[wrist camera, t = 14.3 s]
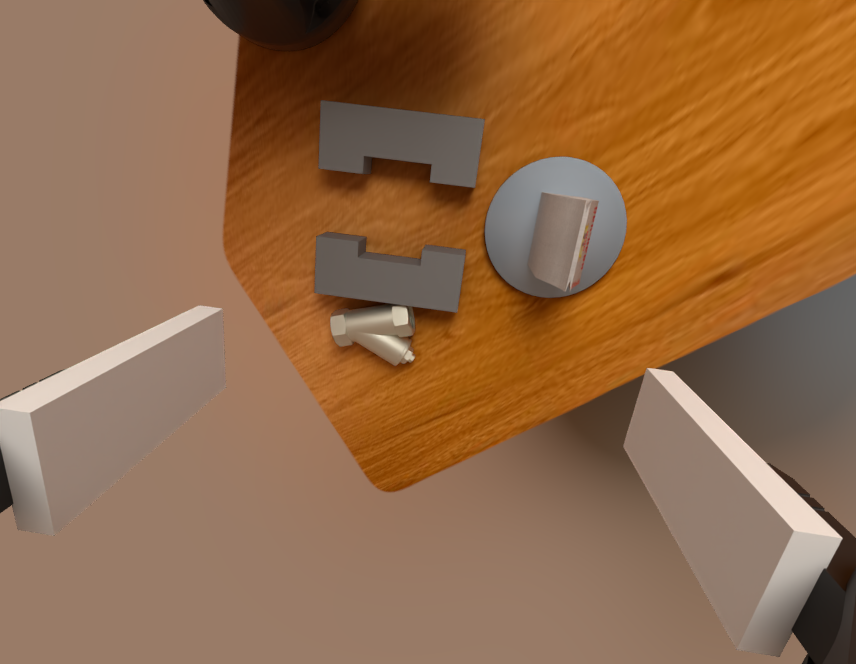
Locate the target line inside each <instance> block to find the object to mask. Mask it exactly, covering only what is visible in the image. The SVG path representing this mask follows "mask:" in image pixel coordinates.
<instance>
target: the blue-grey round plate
mask: <svg viewBox="0 0 856 664" xmlns="http://www.w3.org/2000/svg"><path fill="white" fill-rule="evenodd" d="M542 192H545V193H553V194H561V195H568V196H576V197H583V198H588V199H593V200H597V201H599V203H598V207H597V211H596V215H595V220H594V224H593V228H592V232H591V236H590V241H589V245H588V249H587V253H586V257H585V261H584V266H583V270H582V274H581V278H580V282H579V284H578V285H576V286H574V287H573V288H572V289H571V290H570V289H569V286H568V287H567V289H566V291H563V290H561V289H560V288H558V287H556V286H554V285H551V284H549V283H547V282H545V281H542V280H540V279H538V278H536V277H535V276H534V274H533V273H532V271H531V269H530V268H529V266H528V259H529V254H530V249H531V244H532V239H533V234H534V229H535V224H536V219H537V214H538V208H539V203H540V198H541V193H542ZM626 224H627V219H626V210H625V205H624V201H623V199H622V196H621V194H620V192H619V190H618V188H617V186H616V185H615V184H614V182H613V181H612V180H611V178H610V177H609V176H608V175H607V174H606V173H605V172H603V171H602V170H601V169H599V168H598V167H596V166H595V165H593V164H591V163H589V162H586V161H583V160H580V159H576V158H571V157H552V158H546V159H542V160H538V161H535V162H533V163H530V164H528V165H526V166H524V167H522V168H521V169H519V170H518V171H516V172H515V173H513V174H512V175H511V176H510V177H509V178H508V179H507V180H506V181H505V182H504V183H503V184H502V185H501V187H500V188H499V189H498V191H497V192H496V194H495V196H494V198H493V200H492V202H491V204H490V206H489V209H488V212H487V217H486V221H485V241H486V247H487V251H488V254H489V257H490V259H491V261H492V264H493V265H494V267H495V269H496V270H497V272H498V273H499V274H500V275H501V276H502V278H503V279H504V280H506V281H507V282H508V283H509V284H510V285H512V286H513V287H515V288H516V289H518V290H520V291H522V292H524V293H527V294H530V295H533V296H538V297H546V298H554V297H563V296H568V295H571V294H574V293H577V292H579V291H582V290H584V289H586V288H587V287H589V286H591V285H592V284H594V283H595V282H596V281H598V280H599V279H600V278H601V277H602V276H603V275H604V274H605V273H606V272H607V271H608V270H609V269H610V267H611V266H612V265H613V263H614V262H615V260H616V259H617V257H618V255H619V253H620V251H621V248H622V245H623V242H624V239H625V234H626Z"/></svg>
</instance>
